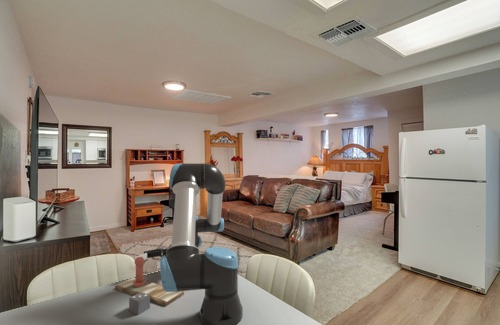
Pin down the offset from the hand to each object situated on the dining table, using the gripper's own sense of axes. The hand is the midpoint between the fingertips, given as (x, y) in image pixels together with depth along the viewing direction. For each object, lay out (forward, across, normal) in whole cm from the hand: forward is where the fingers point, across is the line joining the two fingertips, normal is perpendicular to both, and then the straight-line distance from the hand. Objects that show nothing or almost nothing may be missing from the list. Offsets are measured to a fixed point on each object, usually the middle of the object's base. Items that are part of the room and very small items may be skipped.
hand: (145, 263), depth 113 cm
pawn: (+3, 0, -8) cm, 9 cm away
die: (+15, -14, -10) cm, 23 cm away
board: (+4, -6, -10) cm, 12 cm away
